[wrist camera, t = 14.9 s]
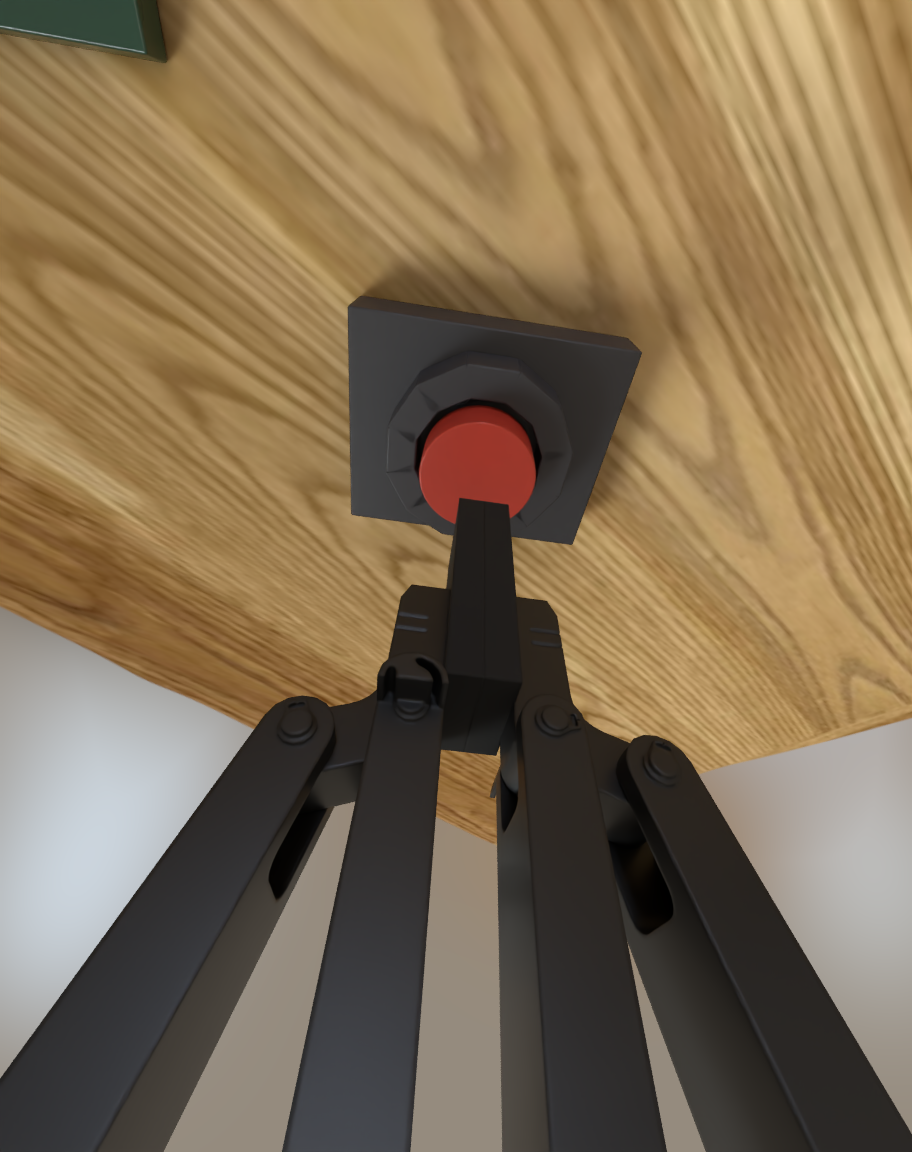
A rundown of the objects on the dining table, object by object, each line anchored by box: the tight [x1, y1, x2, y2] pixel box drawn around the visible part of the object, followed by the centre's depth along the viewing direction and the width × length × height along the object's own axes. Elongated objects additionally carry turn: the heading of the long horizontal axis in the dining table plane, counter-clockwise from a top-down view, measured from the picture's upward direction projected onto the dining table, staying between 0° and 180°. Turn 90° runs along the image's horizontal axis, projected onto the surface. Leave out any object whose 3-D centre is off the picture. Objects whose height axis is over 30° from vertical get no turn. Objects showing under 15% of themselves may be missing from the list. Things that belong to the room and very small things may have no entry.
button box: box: [348, 296, 642, 545], centre depth 20 cm, size 11×9×4 cm
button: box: [419, 405, 536, 524], centre depth 18 cm, size 4×4×2 cm
